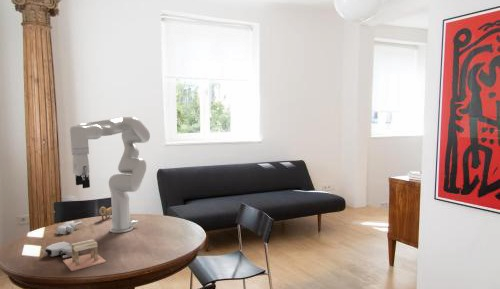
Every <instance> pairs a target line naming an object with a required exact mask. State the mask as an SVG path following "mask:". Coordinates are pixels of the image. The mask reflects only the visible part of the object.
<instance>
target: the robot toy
mask: <svg viewBox="0 0 500 289" xmlns="http://www.w3.org/2000/svg"><path fill="white" fill-rule="evenodd" d="M40 250H41V251H42V252H43V253H45V255H47V256H50V257H56V256H60V258H62V259H69V258H70V257H71V258H72V245H71V243H69V242H66V241H65V240H63V241H60V242H55V243H52V244H49V245H48V246H46V247H45V250H43V248H40ZM83 251H84V250H80V251H79V253H80V252H83Z"/></svg>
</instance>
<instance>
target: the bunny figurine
mask: <svg viewBox="0 0 500 289" xmlns="http://www.w3.org/2000/svg"><path fill="white" fill-rule="evenodd" d="M80 225H83V221H78V222H75V221H74V220H70V221H65V222H63V224H61V225H58V226H56V230H55V234H57V235H68V233H72V232H74V231H76V227H77V226H80Z"/></svg>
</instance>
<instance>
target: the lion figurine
mask: <svg viewBox="0 0 500 289" xmlns="http://www.w3.org/2000/svg"><path fill="white" fill-rule="evenodd" d="M98 212H99V215H100V217H101V221H104V220H105V221H108V218H111V217H112V206H110V207H108V208H106V207H105V206H101V207H100V208H99V210H98ZM104 217H105V218H104Z"/></svg>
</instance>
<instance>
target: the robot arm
mask: <svg viewBox="0 0 500 289" xmlns="http://www.w3.org/2000/svg"><path fill="white" fill-rule="evenodd" d="M69 132H70V135H69V136H70V145H71V146H70V147H71V156H72V173H73V174H74V176H75V185H76V186H81V185H82V189H88V188H90V187H91V182H90V181H91V180H90V163H89V156H88V155H90V150H89V140H98V139H100V138H101V137H106V136H113V135H117V134H121V140H122V142H123V146H124V151H123V153H122V156H121V158H120V160H119V163H118V165H117V170H118V172H119V173H118V174H113V175H111V176H110V178H109V180H108V188H109V192H110V198H111V200H110V201H111V207H112V212H111V225H112V226H111V227H109V232H110V233H113V234H117V233H118V234H119V233H120V234H122V233H126V232H130V231H132V230H133V229H134V225H138V224H139V223H140V221H139V220H131V215H130V214H131V211H130V210H131V208H130V197H129V194H128V193H133V192H134V193H135V192H137V191H138V190H139V189H140V187H141V185H142V183H143V179H144V178H145V174H146V172H147V163H146V160H145V159H143V158H140V157H139V155H140V151H139V149H138V148H139V147H138V146H137V144H145V143H148V142H149V140H150V138H151V134H150V131H149V129H148V128H147V127H146V126H145V125H144V124H143V122H142V121H141V120H140V119H139V118H136V117H135V116H120V117H114V118H109V119H103V120H97V121H89V122H84V123H79V124H76V125H72V126H71V127H70V129H69Z"/></svg>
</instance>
